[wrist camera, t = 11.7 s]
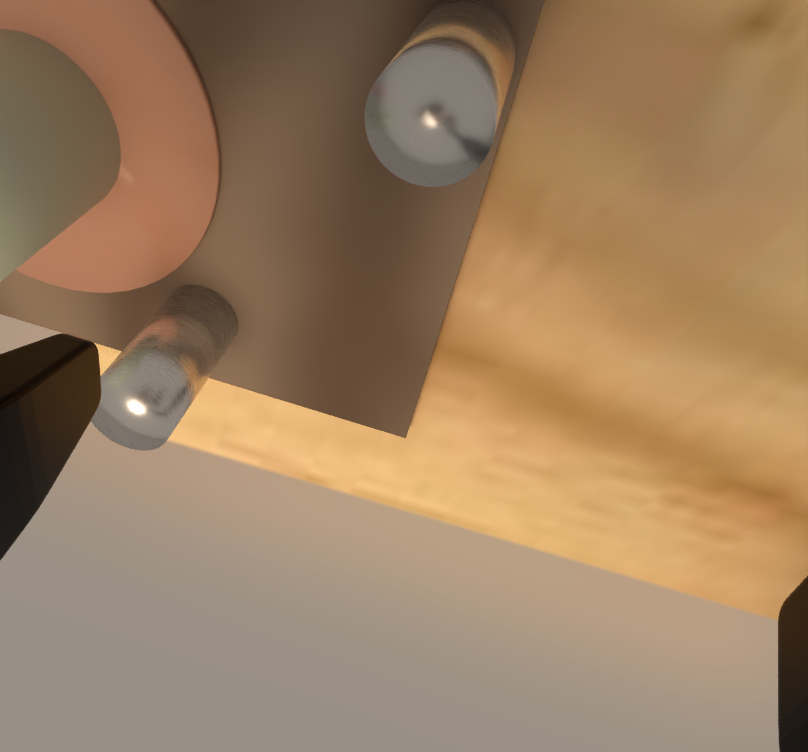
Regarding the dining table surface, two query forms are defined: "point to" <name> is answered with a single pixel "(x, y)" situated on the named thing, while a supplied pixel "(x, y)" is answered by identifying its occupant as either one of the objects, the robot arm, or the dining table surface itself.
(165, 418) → the steel post
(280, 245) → the course board
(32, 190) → the sage cylinder
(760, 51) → the dining table surface
